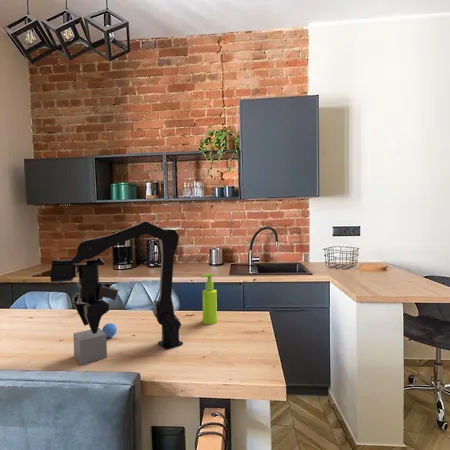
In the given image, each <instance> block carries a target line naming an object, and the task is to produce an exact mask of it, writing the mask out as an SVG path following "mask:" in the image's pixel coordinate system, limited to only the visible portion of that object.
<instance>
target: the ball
mask: <svg viewBox="0 0 450 450" xmlns="http://www.w3.org/2000/svg"><path fill="white" fill-rule="evenodd" d="M101 330H102V331H103V332H104V333H105V334H107V338H112V337H114V336H115V335H117V330H118V328H117V326H116V324H114V323H111V322H109V323H106V324H105V325H103V326H102V329H101Z"/></svg>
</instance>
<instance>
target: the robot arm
mask: <svg viewBox="0 0 450 450" xmlns="http://www.w3.org/2000/svg"><path fill="white" fill-rule="evenodd" d="M142 235H149V236H151V237H153V238H155V239H157V240H158V244H159V250H160V254H161V255H160V256H161V259H160V260H161V261H160V274H159V275H160V278H159V279H160V280H159V295H158V297H157V300H153V301H152V302H153V309H152V313H153V315H154V317H155V318H156V320H157V323H158V324H159V325H161V340H160V341H158V342H157V345H160V346H161V347H162V348H164V349H165V350H169V349H170V350H171V349H173V348H176V347H179V346H182V345H183V344H184V342H183V341H181V340H180V328H181V326H182V323H181V321H180V320H179V318H178V317H177V315H175V310H174V309H175V308H174V303H173V298H172V297H173V296H172V294H173V293H172V291H173V276H174V257H175V254H176V251H177V249H178V244H179V240H180V236H179V234H178V232H177V231H176V230H174V229H171V228H161V227H159V226H157V225H154V224H153V223H150V222H149V221H145V220H143V221H141V222H140V223H138V224H135V225H132V226H130V227H127V228H124V229H121V230H119V231H116V232H114V233H111V234H107V235H104V236H98V237H94V238H93V237H92V238H87V239H84V240H83V241H81V243H79V245H78V247H77V253H76V255H74V256H72V259H52V261H51V268H50V272H49V274H50V275H49V277H50V283H51V284H52V283H65V282H73V281H74V279H76V278H77V277H78V282H77V285H76V286H77V287H78V291H79V292H75V293H73V294H72V296H71V303H73V304H72V305H73V306H74V308H75V310H76V312H77V313H78V315H79V317H80V320H81V321H82V324H83V326H89V328H90V329H89V330H91V331H92V333H93V334H95V333H97V330H98V328H99V327H100V326H99V325H100V323H101V320H102V317H103V316H104V315H105V314H107V313H108V312H109V311H110V304H109V303H108V302H106V301H105V300H103V298H105V299H111V300H113V301H115V300H116V299H117V296H118V294H119V290H118V289H116V288H114V287H111V284H110V283H108V282H104V283H103V284H102V282H100V272H99V271H100V269H99V268H100V267H99V266H105V265H106V262H105V260H103V259H102V258H101V257H100V256H99V255H101V254H102V253H103V252H105V251H107V250H108V249H110V248H112V247H114V246H117V245H119V244H122V243H124V242H128V241H130V240H133V239H134V238H137V237H141V236H142ZM97 256H98V257H97ZM95 257H97V258H96V259H94V258H95ZM85 260H86V261H85ZM83 261H85V262H83Z"/></svg>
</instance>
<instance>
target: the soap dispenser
mask: <svg viewBox="0 0 450 450" xmlns="http://www.w3.org/2000/svg"><path fill="white" fill-rule="evenodd" d="M199 277H200V278H205V277H207V281H206V282H205V289H203V290H202V323H203V324H204V325H215V324H217V322H218V304H217V303H218V296H217V295H218V292H217V289H214V286H215V285H214V281H213V280H212V279H213V278H212V277H214V274H213V273H204V274H201V275H199Z"/></svg>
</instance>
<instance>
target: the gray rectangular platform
mask: <svg viewBox="0 0 450 450" xmlns="http://www.w3.org/2000/svg"><path fill="white" fill-rule="evenodd" d="M107 344H108V342H107V334H105V333H104V332H103V331H102V329H101V328H100V327H98V330H97V333H95V334H93V333H92V331H91V329H87V330H86V329H85V330H82V331H78V332H75V333H73V356H74V358H75V360H76V361H77V363H78V364H79V365H80V366H83V365H86V364H90V363H94V362H97V361H99V359H100V360H102V359H103V358H104V359H107V357H108V348H107V347H108V345H107ZM96 360H97V361H96Z"/></svg>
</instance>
